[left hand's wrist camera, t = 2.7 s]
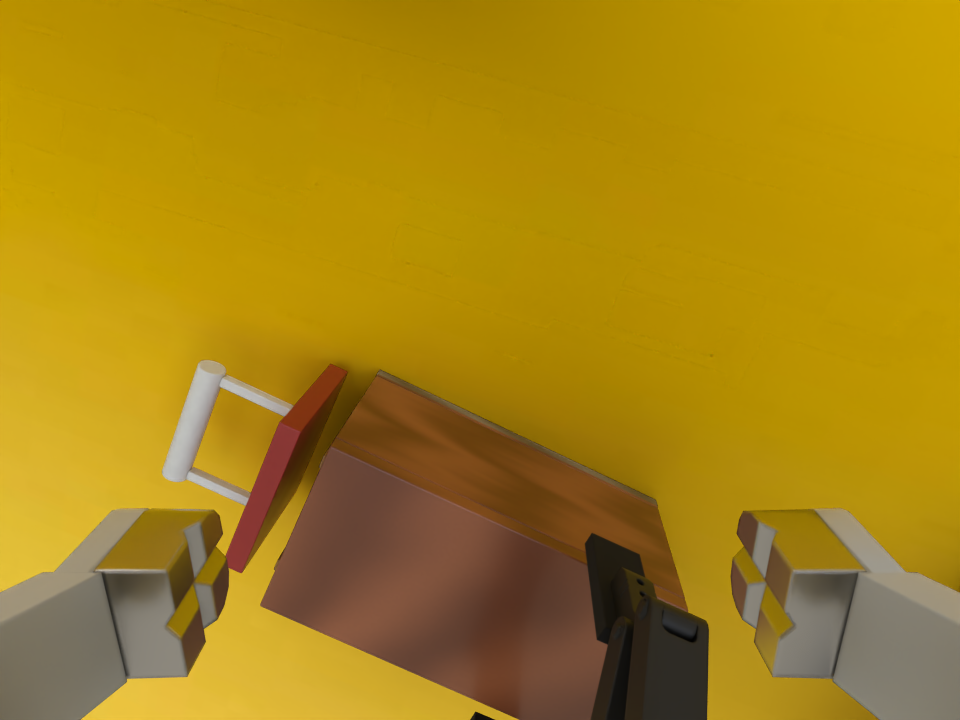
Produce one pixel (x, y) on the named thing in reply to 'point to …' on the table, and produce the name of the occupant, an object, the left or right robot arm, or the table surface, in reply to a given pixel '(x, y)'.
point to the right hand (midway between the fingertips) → (549, 641)
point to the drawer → (281, 459)
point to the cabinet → (463, 553)
